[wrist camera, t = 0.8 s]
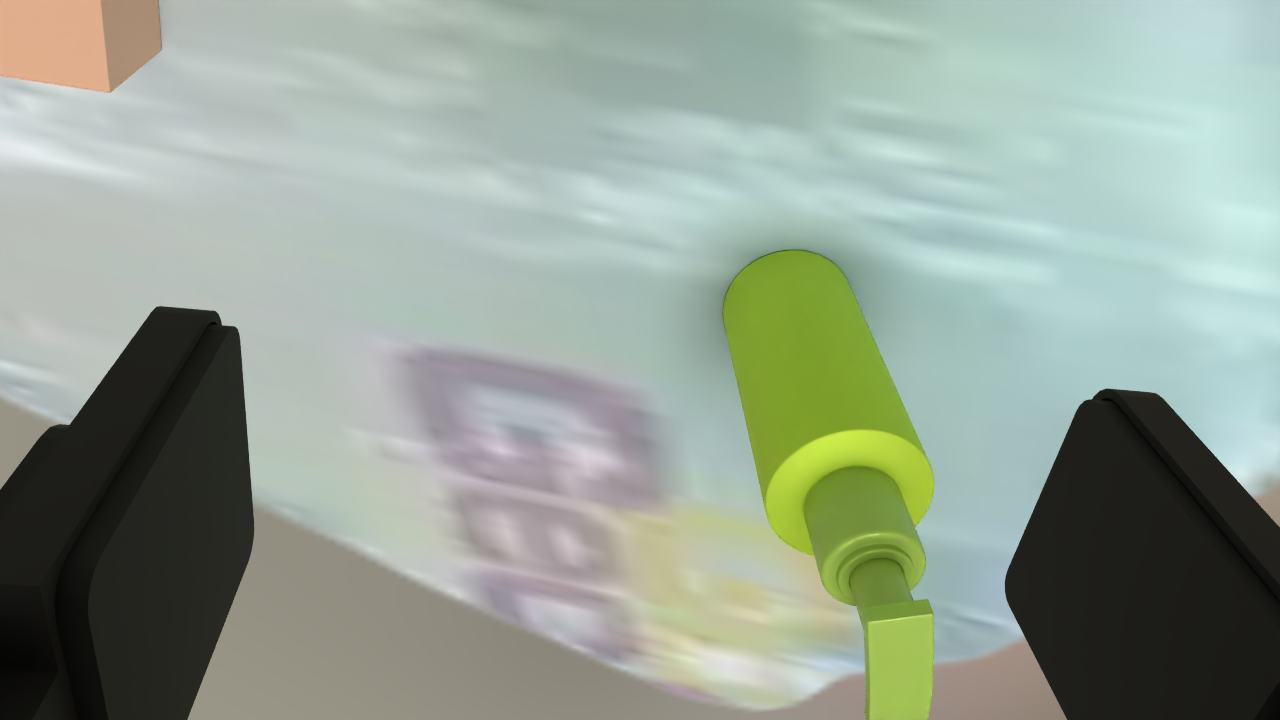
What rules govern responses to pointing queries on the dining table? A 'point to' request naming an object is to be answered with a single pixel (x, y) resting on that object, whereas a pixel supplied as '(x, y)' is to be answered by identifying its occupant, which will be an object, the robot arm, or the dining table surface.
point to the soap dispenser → (837, 460)
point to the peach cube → (78, 40)
